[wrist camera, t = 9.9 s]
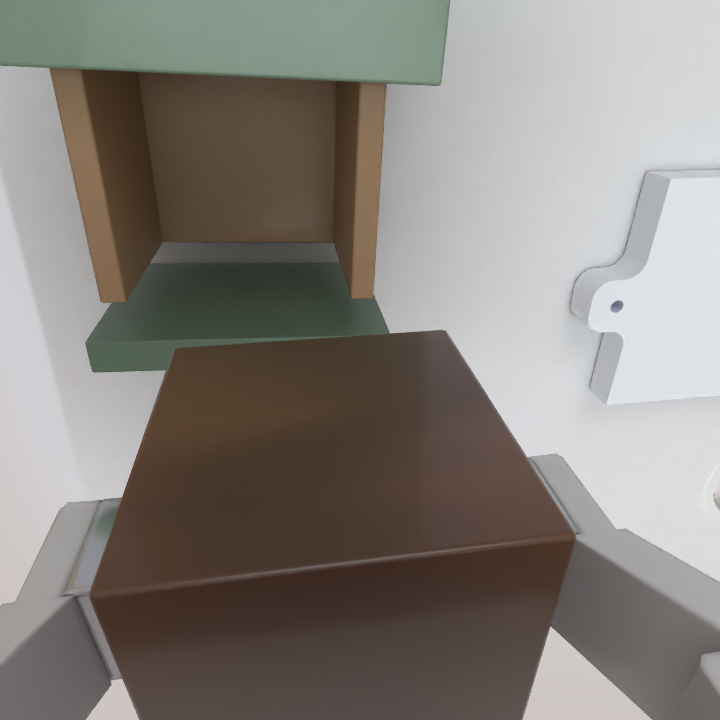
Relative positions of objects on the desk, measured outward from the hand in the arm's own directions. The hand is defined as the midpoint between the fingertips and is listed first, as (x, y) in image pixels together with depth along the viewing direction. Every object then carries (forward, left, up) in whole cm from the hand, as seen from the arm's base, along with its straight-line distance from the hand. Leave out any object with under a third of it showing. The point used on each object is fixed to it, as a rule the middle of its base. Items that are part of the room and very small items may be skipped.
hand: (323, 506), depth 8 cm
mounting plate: (+22, -11, -19) cm, 31 cm away
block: (0, 0, -2) cm, 2 cm away
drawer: (-1, +2, -18) cm, 18 cm away
